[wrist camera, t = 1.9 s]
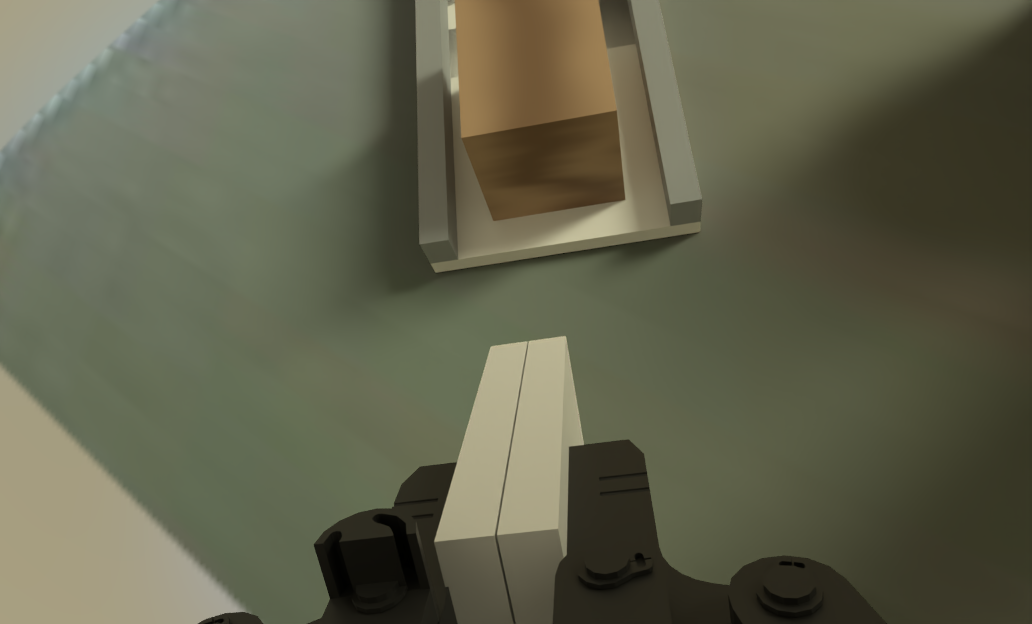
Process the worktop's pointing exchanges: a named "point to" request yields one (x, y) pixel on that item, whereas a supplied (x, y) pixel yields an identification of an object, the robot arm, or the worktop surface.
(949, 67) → the worktop surface
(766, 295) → the worktop surface
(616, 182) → the walnut block
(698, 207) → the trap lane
